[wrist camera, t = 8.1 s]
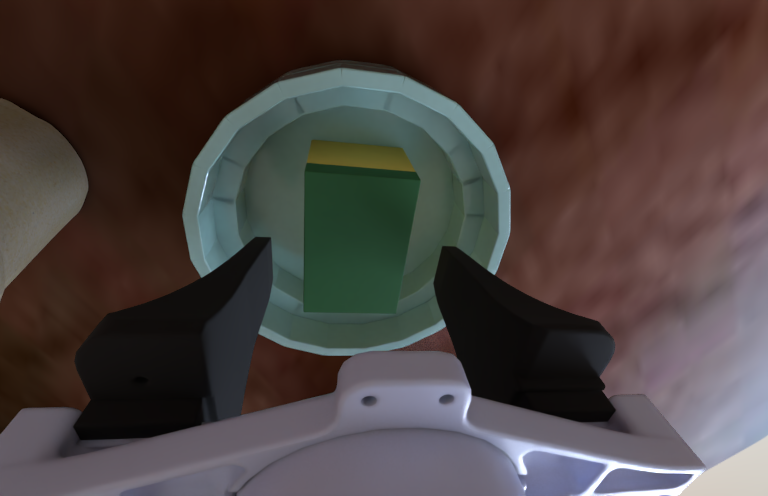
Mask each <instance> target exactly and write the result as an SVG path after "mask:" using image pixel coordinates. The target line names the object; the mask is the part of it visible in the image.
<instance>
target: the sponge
mask: <svg viewBox="0 0 768 496" xmlns="http://www.w3.org/2000/svg"><path fill="white" fill-rule="evenodd" d="M420 183H421V180H420V178H419V176H418V174H417V172H415V170H414V168H413V166H412V164H411V162H410V160H409V159H408V157H407V155H406V153H405V151H404V150H403V148H398V147H387V146H377V145H366V144H355V143H345V142H334V141H323V140H312V141H311V145H310V150H309V154H308V159H307V163H306V167H305V171H304V291H303V312H311V313H373V314H396V312H397V306H398V301H399V296H400V290H401V285H402V279H403V274H404V269H405V263H406V258H407V253H408V247H409V242H410V237H411V231H412V226H413V220H414V215H415V210H416V204H417V199H418V194H419V188H420Z"/></svg>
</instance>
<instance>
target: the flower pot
mask: <svg viewBox="0 0 768 496" xmlns="http://www.w3.org/2000/svg"><path fill="white" fill-rule="evenodd" d="M87 192H88V179H87V175H86V171H85V168H84V166H83V163H82V161H81V159H80V158H79V156H78V154H77V153H76V151H75V150H74V149H73V147H72V146H71V144H70V143H69V142H68V141H67V140H66V138H65V137H64V136H63V135H62V134H61V133H60V132H59V131H58V130H56V129H55V128H54V127H53V126H52V125H51V124H49V123H47V122H46V121H44V120H41V119H39V118H37V117H35V116H34V115H32V114H30V113H29V112H27V111H25V110H23V109H22V108H20V107H18V106H16V105H15V104H13V103H12V102H10V101H7V100H5V99H2V98H0V301H1V298H2V295H3V292H4V289H5V288H6V287H7V286H8V285H9V284H10V283H11V282H12V281H13V280H14V279H15V277H16V276H17V275H18V274H19V273H20V272H21V271H22V270H23V269H24V268H25V267H26V266H27V265H28V264H29V263H30V262H31V260H32V259H33V258H34V257H35V256H36V255H37V254H38V253H39V252H40V251H41V250H42V249H43V248H44V247H45V246H46V245H47V244H48V243H49V242H50V240H51V239H52V238H53V237H54V236H55V235H56V234H57V233H58V232H59V231H60V230H61V229H62V228H63V227H64V226H65V225H66V224H67V223H68V222H69V221H70V220H71V219H72V218H73V217H74V216H75V215H76V214H77V213H78V212H79V211H80V210H81V208H82V206H83V203H84V201H85V198H86V195H87Z"/></svg>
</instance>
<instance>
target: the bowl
mask: <svg viewBox="0 0 768 496" xmlns="http://www.w3.org/2000/svg"><path fill="white" fill-rule="evenodd" d="M312 140H323V141H334V142H345V143H355V144H366V145H377V146H387V147H398V148H403V150H404V151H405V153H406V155H407V157H408V159H409V160H410V162H411V164H412V166H413V168H414V170H415V172H417V174H418V176H419V178H420V180H421V183H420V188H419V194H418V199H417V204H416V210H415V215H414V220H413V226H412V231H411V237H410V242H409V247H408V253H407V258H406V263H405V269H404V274H403V279H402V285H401V290H400V296H399V301H398V306H397V312H396V314H373V313H311V312H303V291H304V171H305V167H306V163H307V159H308V154H309V150H310V145H311V141H312ZM182 217H183V222H184V228H185V233H186V238H187V243H188V249H189V254H190V259H191V261H192V263H193V265H194V267H195V268H196V270H197V272H198V273H199V275H200V277H201V278H202V277H204V276H205V275H207V274H209V273H210V272H212V271H213V270H215V269H216V268H217V267H219V266H220V265H222V264H223V263H224V262H226V261H227V260H228V259H230V258H231V257H232V256H233V255H235V254H236V253H237V252H238V251H239V250H240V249H242V248H243V247H244V246H245V245H246V244H247V243H249V242H250V241H251V240H252V239H253V238H254V237H271V241H272V263H273V283H272V288H271V294H270V299H269V302H268V305H267V308H266V312H265V315H264V318H263V321H262V324H261V327H260V330H259V333H258V334H260V335H262V336H264V337H266V338H268V339H270V340H272V341H274V342H276V343H278V344H280V345H282V346H285V347H288V348H293V349H297V350H302V351H306V352H311V353H315V354H320V355H326V356H354V355H355V354H358V353H363V352H369V351H388V350H393V349H397V348H402V347H405V346H408V345H410V344H412V343H414V342H416V341H418V340H421V339H423V338H425V337H427V336H429V335H431V334H433V333H435V332H438V331H440V330H441V329H443V328H444V327H445V326H446V325H445V322H444V319H443V317H442V314H441V312H440V309H439V306H438V303H437V300H436V295H435V290H434V285H433V282H434V278H435V274H436V270H437V265H438V261H439V257H440V253H441V249H442V246H456V247H457V248H459V249H460V250H462V251H463V252H464V253H466V254H467V255H468V256H470V257H471V258H472V259H473V260H475V261H476V262H477V263H479V264H480V265H481V266H483V267H484V268H485V269H487V270H488V271H489V272H491V273H492V274H494V275H495V274H496V271H497V269H498V266H499V263H500V261H501V258H502V255H503V252H504V249H505V246H506V243H507V241H508V238H509V235H510V186H509V183H508V180H507V178H506V175H505V172H504V170H503V167H502V164H501V162H500V159H499V156H498V153H497V151H496V148H495V145H494V144H493V142H492V141H491V140H490V138H489V137H488V136H487V135H486V134H485V133H484V132H483V131H482V129H481V128H480V127H479V126H478V125H477V124H476V123H475V122H474V120H473V119H472V118H471V117H470V116H469V115H468V114H467V113H466V111H465V110H464V109H463V108H462V107H461V106H460V105H459V104H458V103H457V102H455V101H454V100H452V99H450V98H449V97H447V96H445V95H444V94H442V93H441V92H439V91H437V90H436V89H434V88H432V87H430V86H428V85H427V84H425V83H423V82H421V81H419V80H417V79H415V78H413V77H411V76H409V75H407V74H406V73H404V72H402V71H400V70H398V69H396V68H394V67H392V66H388V65H380V64H373V63H365V62H357V61H350V60H342V59H341V60H334V61H330V62H325V63H321V64H317V65H312V66H308V67H303V68H299V69H295V70H291V71H290V72H286V73H285V74H283V75H282V76H280V77H279V78H277V79H276V80H274V81H273V82H271V83H270V84H268V85H267V86H265V87H264V88H262V89H261V90H259V91H258V92H256V93H255V94H253V95H252V96H250V97H249V98H248V99H246V100H245V101H244V102H242V103H241V104H240V105H239V106H237V107H236V108H235V109H234V110H232V111H231V112H230V113H228V114H227V115H226V116H225V117H224V118H223V119H222V121H221V122H220V124H219V125H218V127H217V128H216V130H215V131H214V132H213V134H212V135H211V137H210V138H209V140H208V141H207V143H206V144H205V146H204V147H203V149H202V150H201V151H200V153H199V154H198V156H197V157H196V159H195V160H194V162H193V165H192V168H191V173H190V178H189V183H188V187H187V192H186V197H185V202H184V207H183V214H182Z"/></svg>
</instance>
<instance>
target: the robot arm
mask: <svg viewBox="0 0 768 496" xmlns="http://www.w3.org/2000/svg"><path fill="white" fill-rule="evenodd" d="M272 283H273V263H272V241H271V237H254V238H253V239H252V240H251V241H250V242H249V243H247V244H246V245H245V246H244V247H243V248H242V249H240V250H239V251H238V252H237V253H236V254H235V255H233V256H232V257H231V258H230V259H228V260H227V261H226V262H224V263H223V264H222V265H220V266H219V267H217V268H216V269H215V270H213V271H212V272H210V273H209V274H207V275H205V276H204V277H202V278H200V279H199V280H197V281H195V282H193V283H191V284H189V285H187V286H185V287H183V288H181V289H179V290H177V291H175V292H172V293H170V294H168V295H165V296H163V297H160V298H158V299H155V300H152V301H149V302H147V303H144V304H141V305H138V306H134V307H131V308H127V309H124V310H120V311H117V312H113V313H109V314H107V315H106V316H105V317H104V319H103V320H102V321H101V322H100V323H99V324H98V325H97V326H96V328H95V329H94V330H93V332H92V333H91V334H90V335H89V337H88V338H87V339H86V340H85V342H84V343H83V344H82V345H81V347H80V348H79V349H78V351H77V352H76V356H75V365H76V369H77V371H78V374H79V376H80V378H81V380H82V382H83V384H84V386H85V388H86V391H87V393H88V395H89V397H90V399H91V400H90V402H89V403H88V405H87V406H86V408H85V409H84V411H83V412H81V411H80V410H78V409H75V408H71V407H44V408H24V409H22V410H20V412H19V413H18V414H17V415H16V416H15V418H14V419H13V420H12V421H11V422H10V424H9V425H8V426H7V427H6V428H5V430H4V431H3V432H2V433H1V434H0V496H677V495H678V494H679V493H680V492H681V491H683V489H685V488H686V487H687V486H688V485H689V484H690V483H691V482H692V481H693V480H695V479H696V478H697V477H698V476H699V475H700V474H701V473H702V472H703V471H704V470H705V467H706V466H705V465H704V464H703V463H702V461H701V460H700V459H699V458H698V457H697V455H696V454H695V453H694V452H693V451H692V450H691V448H690V447H689V446H688V445H687V444H686V442H685V441H684V440H683V439H682V438H681V437H680V435H679V434H678V433H677V432H676V431H675V429H674V428H673V427H672V426H671V425H670V424H669V422H668V421H667V420H666V419H665V418H664V416H663V415H662V414H661V413H660V412H659V411H658V409H657V408H656V407H655V406H654V405H653V404H652V402H651V401H650V400H649V399H648V398H647V396H646V395H643V394H632V395H615V396H612V397H610V398H609V399H608V398H607V397H606V396H605V394H604V393H603V392H602V390H604V389H605V384H604V383H603V382H602V380H601V379H600V378H599V377H600V375H601V374H602V372H603V371H604V369H605V368H606V366H607V365H608V363H609V361H610V360H611V358H612V356H613V354H614V350H615V342H614V339H613V338H612V336H611V335H610V334H609V333H608V332H607V331H606V330H605V329H604V327H603V326H602V325H601V324H600V323H599V322H598V321H595V320H592V319H589V318H585V317H582V316H578V315H575V314H572V313H569V312H566V311H564V310H561V309H558V308H555V307H553V306H551V305H548V304H546V303H543V302H541V301H539V300H537V299H535V298H533V297H531V296H529V295H527V294H525V293H523V292H521V291H519V290H517V289H516V288H514V287H512V286H510V285H509V284H507V283H506V282H504V281H502V280H501V279H499V278H498V277H497V276H495V275H494V274H492V273H491V272H489V271H488V270H487V269H485V268H484V267H483V266H481V265H480V264H479V263H477V262H476V261H475V260H473V259H472V258H471V257H470V256H468V255H467V254H466V253H464V252H463V251H462V250H460V249H459V248H457V247H456V246H442V249H441V253H440V257H439V261H438V265H437V270H436V274H435V278H434V282H433V285H434V290H435V295H436V300H437V303H438V306H439V309H440V312H441V314H442V317H443V319H444V322H445V325H446V327H447V330H448V332H449V335H450V337H451V340H452V343H453V346H454V349H455V352H456V355H457V358H456V357H455V356H454V355H453V354H450V353H445V352H440V351H369V352H363V353H358V354H355V355H354V356H352V357H351V358H349V359H348V360H346V361H344V362H343V364H342V366H341V368H340V370H339V372H338V381H337V387H336V390H335V391H334V392H333V393H329V394H325V395H321V396H317V397H313V398H309V399H305V400H301V401H297V402H293V403H289V404H285V405H281V406H277V407H272V408H268V409H264V410H260V411H256V412H252V413H248V414H244V415H241V410H242V404H243V399H244V393H245V388H246V383H247V378H248V372H249V367H250V363H251V358H252V353H253V349H254V345H255V342H256V339H257V336H258V333H259V330H260V327H261V324H262V321H263V318H264V315H265V312H266V308H267V305H268V302H269V299H270V294H271V288H272Z"/></svg>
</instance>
